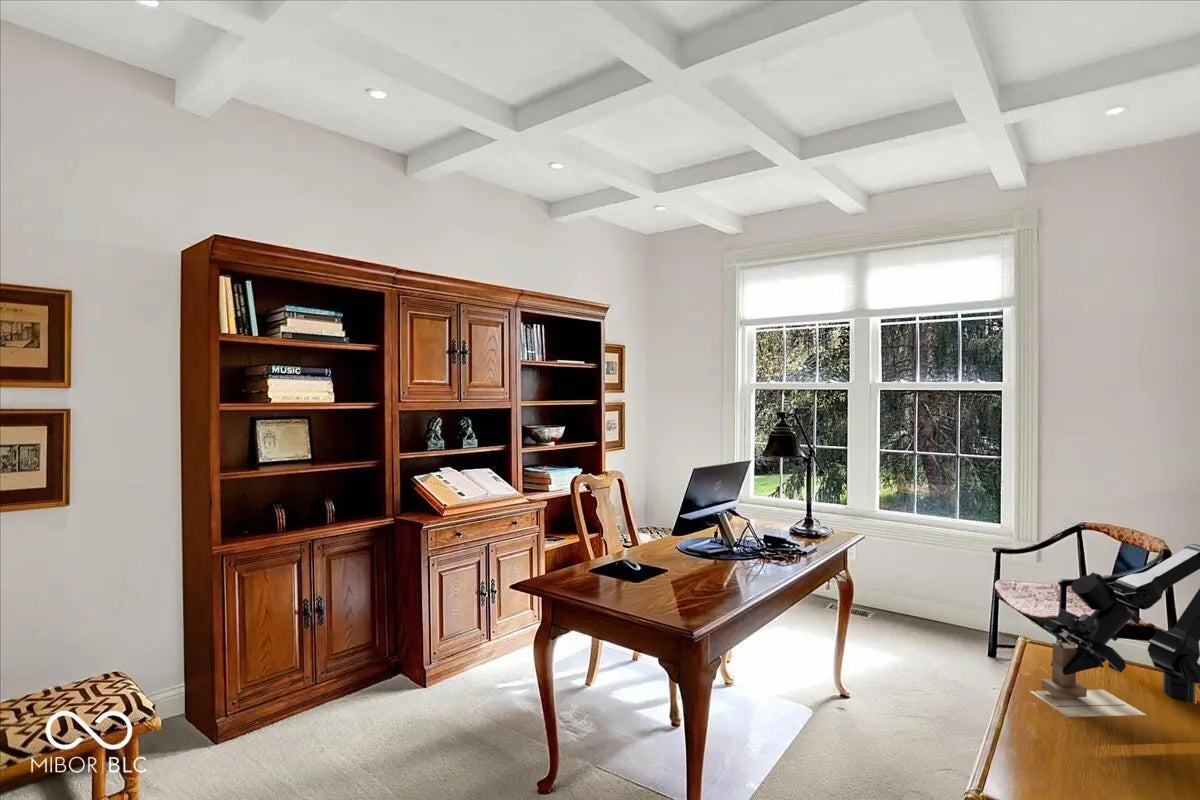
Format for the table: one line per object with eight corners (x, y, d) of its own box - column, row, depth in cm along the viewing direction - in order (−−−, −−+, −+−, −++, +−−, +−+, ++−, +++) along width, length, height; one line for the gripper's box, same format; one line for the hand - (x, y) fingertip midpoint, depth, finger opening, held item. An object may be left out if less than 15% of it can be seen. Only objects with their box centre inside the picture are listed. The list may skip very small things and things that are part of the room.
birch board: (1102, 695, 156) (1102, 689, 156) (1146, 721, 144) (1146, 714, 144) (1029, 697, 155) (1029, 690, 155) (1067, 723, 143) (1067, 716, 143)
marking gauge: (1070, 686, 155) (1070, 636, 155) (1086, 696, 150) (1087, 644, 150) (1041, 687, 155) (1042, 636, 154) (1057, 697, 150) (1057, 644, 149)
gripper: (1052, 586, 161) (1008, 631, 161) (1114, 612, 143) (1064, 663, 142) (1082, 617, 162) (1038, 662, 162) (1148, 647, 143) (1099, 698, 143)
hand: (1058, 670), depth 152 cm, fingers closed on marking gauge, 3 cm apart
